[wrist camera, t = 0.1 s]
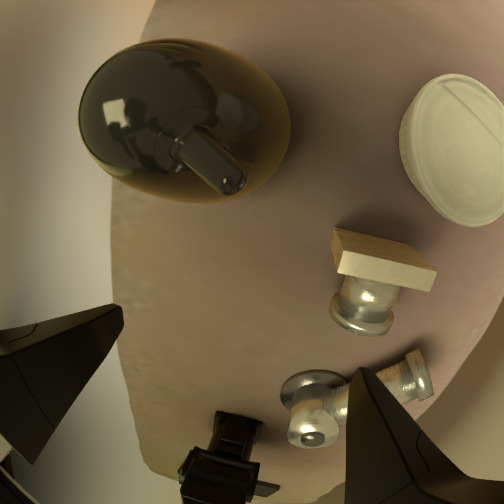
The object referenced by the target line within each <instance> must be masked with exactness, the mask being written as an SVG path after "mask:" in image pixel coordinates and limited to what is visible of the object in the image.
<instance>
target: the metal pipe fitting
mask: <svg viewBox="0 0 504 504" xmlns="http://www.w3.org/2000/svg"><path fill="white" fill-rule="evenodd" d="M330 246H331V250H332V253H333V257H334V261H335V265H336V269H337V273H341V274H346V275H345V279H344V282H343V285H342V288H341V291H340V292H338V293H336V294H335V295H333V297H332V299H331V302H330V306H329V313H330V315H331V317H332V318H333V320H334V321H335V322H336V323H338V324H339V325H340V326H342V327H343V328H345V329H347V330H349V331H351V332H353V333H356V334H359V335H364V336H381V335H384V334H386V333H387V332H388V331H389V330H390V327H391V325H392V323H393V321H394V314H393V312H392V308H393V305H394V303H395V300H396V298H397V295H398V292H399V290H400V287H401V286H403V287H408V288H413V289H418V290H423V291H428V292H430V290H431V287H432V285H433V282H434V280H435V277H436V274H437V271H436V270H435V269H434V268H433V267H432V266H431V265H430V264H429V263H428V262H427V261H426V260H425V259H424V258H423V257H422V256H420V255H419V254H418V253H417V252H416V251H415V250H414V249H413V248H412V247H411V246H410V245H407V244H403V243H399V242H395V241H391V240H387V239H383V238H379V237H375V236H371V235H367V234H363V233H358V232H354V231H350V230H345V229H341V228H336V227H334V230H333V234H332V239H331V243H330ZM314 384H319V385H325V386H329V387H331V388H332V389H334V388H337V387H340V386H343V385H346V384H348V383H347V381H346V380H345V379H344V378H343V377H342V376H340V375H339V374H336V373H334V372H331V371H326V370H310V371H304V372H301V373H298V374H296V375H294V376H292V377H290V378H289V379H288V380H287V381H286V382H285V383H284V384H283V386H282V389H281V394H280V398H281V402H282V404H283V405H284V406H285V407H286V408H287V409H288V410H290V411H291V404H292V397H293V394H294V393H295V392H296V391H297V390H298V389H300V388H302V387H304V386H308V385H314Z"/></svg>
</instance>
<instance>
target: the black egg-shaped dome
mask: <svg viewBox="0 0 504 504" xmlns="http://www.w3.org/2000/svg"><path fill="white" fill-rule="evenodd" d="M78 129H79V133H80V137H81V140H82V142H83V144H84V146H85V148H86V150H87V152H88V153H89V155H90V156H91V157H92V158H93V160H95V162H96V163H97V164H98V165H99V166H100V167H101V168H102V169H103V170H104V171H105V172H107V173H108V174H109V175H111V176H112V177H113V178H115V179H116V180H118V181H120V182H121V183H123V184H125V185H127V186H129V187H131V188H133V189H135V190H138V191H140V192H143V193H146V194H149V195H153V196H156V197H160V198H164V199H168V200H172V201H178V202H184V203H218V202H225V201H229V200H233V199H236V198H239V197H242V196H244V195H246V194H248V193H250V192H252V191H253V190H255V189H257V188H258V187H260V186H261V185H262V184H263V183H265V182H266V181H267V180H268V179H269V178H270V177H271V176H272V175H273V173H274V172H275V171H276V170H277V168H278V167H279V165H280V164H281V162H282V160H283V158H284V156H285V154H286V151H287V148H288V145H289V140H290V134H291V120H290V113H289V109H288V105H287V103H286V100H285V98H284V96H283V94H282V92H281V90H280V89H279V87H278V86H277V84H276V83H275V82H274V81H273V79H272V78H271V77H270V76H269V75H268V74H267V73H266V72H264V71H263V70H262V69H261V68H260V67H258V66H257V65H256V64H254V63H253V62H251V61H250V60H248V59H247V58H245V57H243V56H241V55H239V54H237V53H235V52H233V51H231V50H228V49H226V48H223V47H220V46H217V45H214V44H211V43H207V42H203V41H199V40H193V39H184V38H162V39H154V40H149V41H145V42H141V43H138V44H135V45H132V46H129V47H127V48H125V49H123V50H121V51H119V52H117V53H115V54H114V55H112V56H111V57H109V58H108V59H107V60H105V61H104V62H103V63H102V64H101V65H100V66H99V67H98V68H97V69H96V70H95V72H94V73H93V74H92V76H91V77H90V79H89V80H88V82H87V83H86V85H85V87H84V90H83V92H82V95H81V98H80V101H79V106H78Z"/></svg>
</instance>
